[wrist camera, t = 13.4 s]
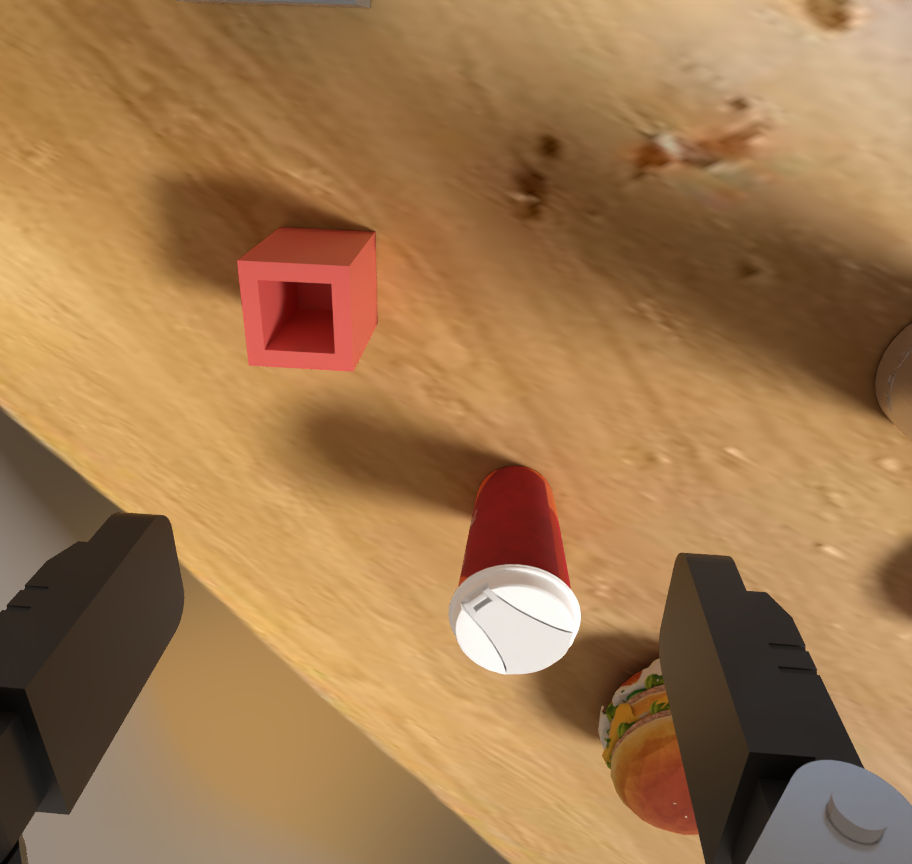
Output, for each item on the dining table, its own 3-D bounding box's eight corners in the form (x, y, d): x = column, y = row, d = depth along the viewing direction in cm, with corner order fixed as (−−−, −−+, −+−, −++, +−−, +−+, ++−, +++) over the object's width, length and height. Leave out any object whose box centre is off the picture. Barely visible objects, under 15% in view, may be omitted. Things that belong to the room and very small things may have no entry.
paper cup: (441, 493, 54) (418, 626, 42) (519, 432, 51) (519, 556, 39) (512, 557, 56) (510, 701, 44) (590, 502, 53) (612, 640, 41)
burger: (768, 742, 64) (808, 854, 55) (615, 767, 67) (630, 877, 58) (741, 631, 58) (781, 735, 49) (576, 664, 61) (586, 768, 52)
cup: (375, 231, 45) (349, 266, 38) (377, 323, 48) (353, 371, 41) (280, 227, 45) (236, 260, 38) (288, 318, 48) (248, 365, 41)
